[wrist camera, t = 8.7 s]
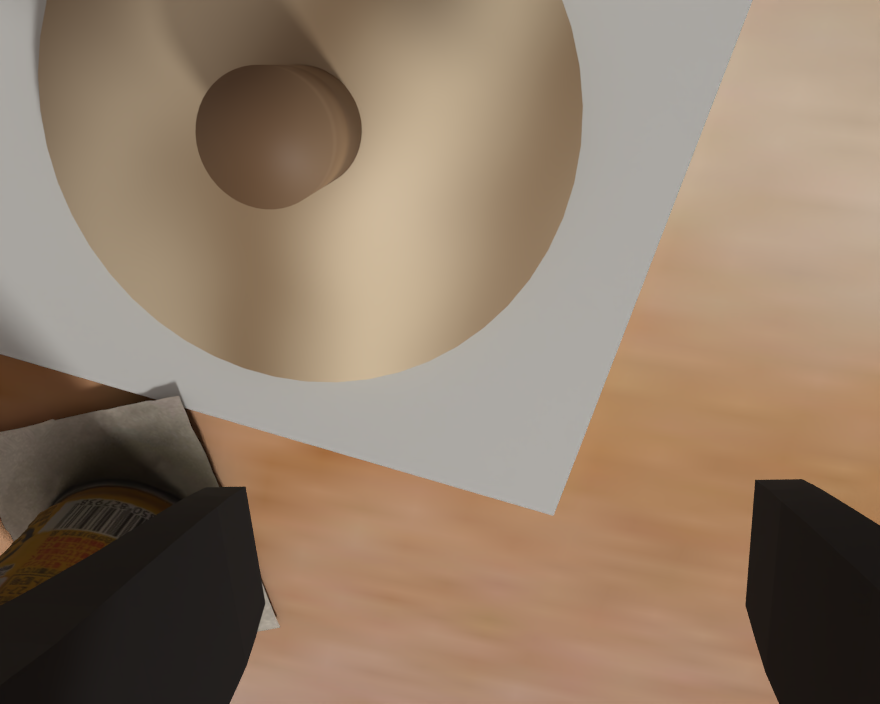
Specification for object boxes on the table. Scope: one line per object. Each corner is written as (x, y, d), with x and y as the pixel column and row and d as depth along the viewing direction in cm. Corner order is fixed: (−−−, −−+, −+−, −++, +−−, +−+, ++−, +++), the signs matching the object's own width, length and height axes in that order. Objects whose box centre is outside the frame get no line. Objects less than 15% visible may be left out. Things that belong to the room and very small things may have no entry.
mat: (785, -98, 17) (791, -102, 17) (552, 508, 23) (553, 515, 22) (-10, -336, 17) (-22, -346, 16) (-44, 333, 22) (-54, 338, 22)
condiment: (81, 654, 26) (-229, 1113, 15) (-39, 438, 23) (-535, 815, 12) (282, 622, 25) (104, 1097, 14) (183, 390, 22) (-145, 760, 11)
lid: (646, -127, 16) (680, -178, 13) (514, 414, 21) (512, 486, 18) (57, -239, 17) (-67, -319, 13) (55, 317, 22) (-36, 367, 18)
